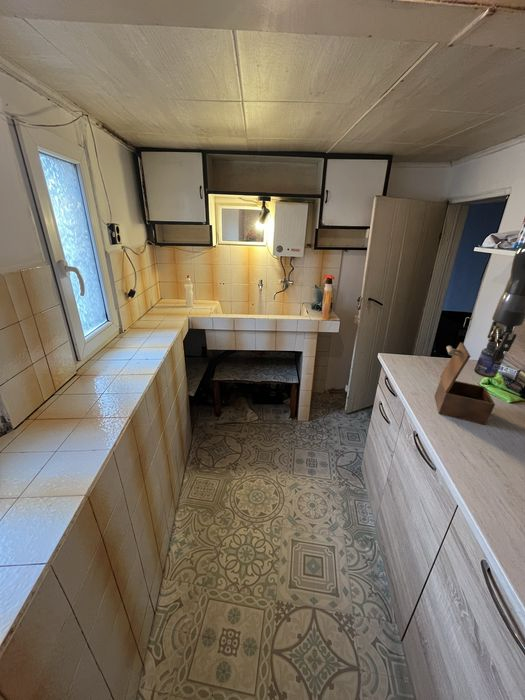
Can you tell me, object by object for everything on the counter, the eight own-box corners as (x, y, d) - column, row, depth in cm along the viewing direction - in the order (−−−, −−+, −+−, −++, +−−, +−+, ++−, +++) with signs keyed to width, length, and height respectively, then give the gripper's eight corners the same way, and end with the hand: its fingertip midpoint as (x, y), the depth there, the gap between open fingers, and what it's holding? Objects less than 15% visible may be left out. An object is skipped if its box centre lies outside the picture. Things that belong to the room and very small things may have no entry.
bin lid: (462, 342, 103) (447, 338, 104) (470, 356, 92) (453, 350, 94) (442, 377, 110) (428, 372, 112) (447, 393, 100) (432, 387, 101)
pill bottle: (491, 380, 92) (505, 349, 88) (470, 372, 97) (482, 343, 92) (498, 375, 96) (511, 345, 91) (477, 367, 100) (489, 339, 96)
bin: (476, 405, 109) (485, 386, 106) (485, 425, 99) (495, 404, 95) (434, 396, 114) (441, 377, 111) (438, 413, 104) (446, 393, 100)
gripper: (537, 316, 79) (513, 368, 86) (518, 304, 91) (498, 350, 98) (505, 312, 82) (484, 363, 89) (491, 301, 94) (473, 346, 101)
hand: (491, 356), depth 94 cm, fingers closed on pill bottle, 6 cm apart
